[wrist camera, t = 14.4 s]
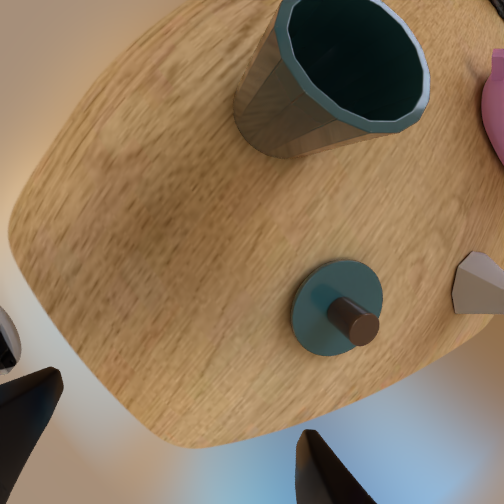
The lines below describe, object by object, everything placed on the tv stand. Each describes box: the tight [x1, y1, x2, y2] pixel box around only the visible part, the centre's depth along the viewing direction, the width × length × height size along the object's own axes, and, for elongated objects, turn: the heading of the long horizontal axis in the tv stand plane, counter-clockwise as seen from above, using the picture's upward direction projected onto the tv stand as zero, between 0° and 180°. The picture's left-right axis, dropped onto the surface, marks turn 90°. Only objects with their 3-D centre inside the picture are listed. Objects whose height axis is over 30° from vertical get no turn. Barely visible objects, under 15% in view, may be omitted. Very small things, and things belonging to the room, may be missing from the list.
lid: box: [291, 259, 383, 356], centre depth 20 cm, size 8×8×5 cm
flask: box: [452, 251, 504, 314], centre depth 21 cm, size 7×7×10 cm
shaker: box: [233, 0, 430, 159], centre depth 13 cm, size 7×7×10 cm
